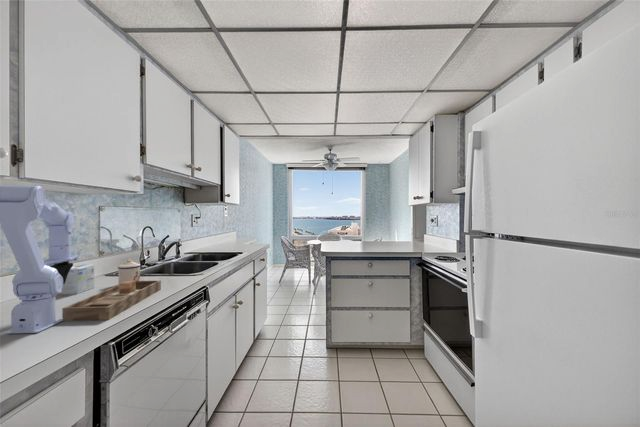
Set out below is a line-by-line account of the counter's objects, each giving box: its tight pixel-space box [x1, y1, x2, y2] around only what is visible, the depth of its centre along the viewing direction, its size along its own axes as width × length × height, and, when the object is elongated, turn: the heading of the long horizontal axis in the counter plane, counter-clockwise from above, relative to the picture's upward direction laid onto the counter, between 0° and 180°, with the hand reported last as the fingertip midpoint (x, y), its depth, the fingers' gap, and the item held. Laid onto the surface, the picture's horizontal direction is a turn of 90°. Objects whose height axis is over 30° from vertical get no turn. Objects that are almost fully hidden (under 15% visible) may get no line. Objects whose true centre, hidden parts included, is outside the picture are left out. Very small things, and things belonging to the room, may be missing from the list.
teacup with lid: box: [117, 259, 141, 285], centre depth 139 cm, size 12×9×12 cm
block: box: [119, 281, 136, 294], centre depth 116 cm, size 4×4×4 cm
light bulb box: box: [61, 263, 95, 295], centre depth 126 cm, size 11×7×11 cm, turn 5°
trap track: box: [61, 280, 162, 322], centre depth 110 cm, size 36×14×4 cm, turn 5°
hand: (60, 284), depth 100 cm, fingers closed
